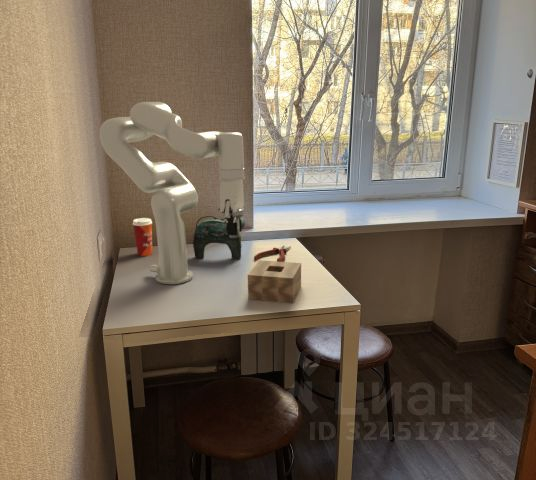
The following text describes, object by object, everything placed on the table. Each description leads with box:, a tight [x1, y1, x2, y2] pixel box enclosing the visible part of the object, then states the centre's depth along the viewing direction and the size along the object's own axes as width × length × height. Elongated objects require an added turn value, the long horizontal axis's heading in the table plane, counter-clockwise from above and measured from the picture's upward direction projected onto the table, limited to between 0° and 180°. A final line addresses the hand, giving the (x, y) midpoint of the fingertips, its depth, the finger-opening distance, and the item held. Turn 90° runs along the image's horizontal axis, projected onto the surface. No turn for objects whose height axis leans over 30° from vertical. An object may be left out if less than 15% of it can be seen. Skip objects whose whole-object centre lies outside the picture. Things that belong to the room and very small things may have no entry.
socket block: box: [247, 259, 302, 304], centre depth 155 cm, size 14×14×8 cm
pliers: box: [253, 244, 292, 262], centre depth 193 cm, size 12×20×3 cm, turn 154°
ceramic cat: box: [192, 208, 246, 260], centre depth 187 cm, size 20×6×20 cm, turn 84°
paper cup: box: [132, 217, 153, 257], centre depth 194 cm, size 8×8×14 cm
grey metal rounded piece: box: [222, 207, 245, 238], centre depth 152 cm, size 7×7×9 cm
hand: (234, 232), depth 153 cm, fingers closed on grey metal rounded piece, 3 cm apart
